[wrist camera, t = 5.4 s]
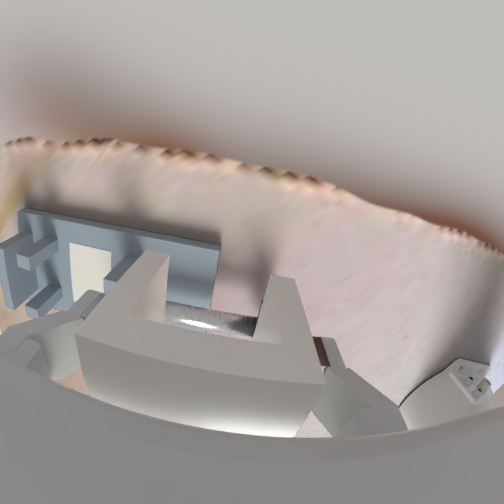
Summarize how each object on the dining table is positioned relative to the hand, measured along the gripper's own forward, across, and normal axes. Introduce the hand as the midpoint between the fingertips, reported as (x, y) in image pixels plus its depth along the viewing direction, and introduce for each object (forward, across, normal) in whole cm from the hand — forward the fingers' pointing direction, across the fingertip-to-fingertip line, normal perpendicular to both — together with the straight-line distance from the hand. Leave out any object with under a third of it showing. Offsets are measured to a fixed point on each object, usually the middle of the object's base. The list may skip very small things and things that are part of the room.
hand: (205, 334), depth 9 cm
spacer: (+2, 0, 0) cm, 2 cm away
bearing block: (+16, +13, +8) cm, 22 cm away
